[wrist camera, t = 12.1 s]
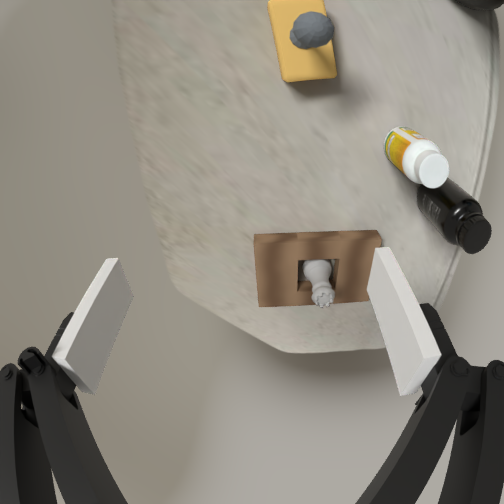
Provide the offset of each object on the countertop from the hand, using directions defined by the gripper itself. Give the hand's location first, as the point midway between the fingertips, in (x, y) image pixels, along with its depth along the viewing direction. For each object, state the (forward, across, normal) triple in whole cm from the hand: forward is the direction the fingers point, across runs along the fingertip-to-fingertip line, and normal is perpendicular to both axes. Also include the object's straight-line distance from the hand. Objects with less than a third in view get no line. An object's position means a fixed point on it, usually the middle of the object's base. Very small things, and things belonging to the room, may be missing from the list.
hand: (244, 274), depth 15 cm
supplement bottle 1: (+25, +19, 0) cm, 31 cm away
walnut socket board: (+25, +8, -19) cm, 32 cm away
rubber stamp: (+25, +6, +13) cm, 29 cm away
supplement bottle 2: (+25, +26, -7) cm, 37 cm away
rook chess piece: (+25, +8, -19) cm, 32 cm away
